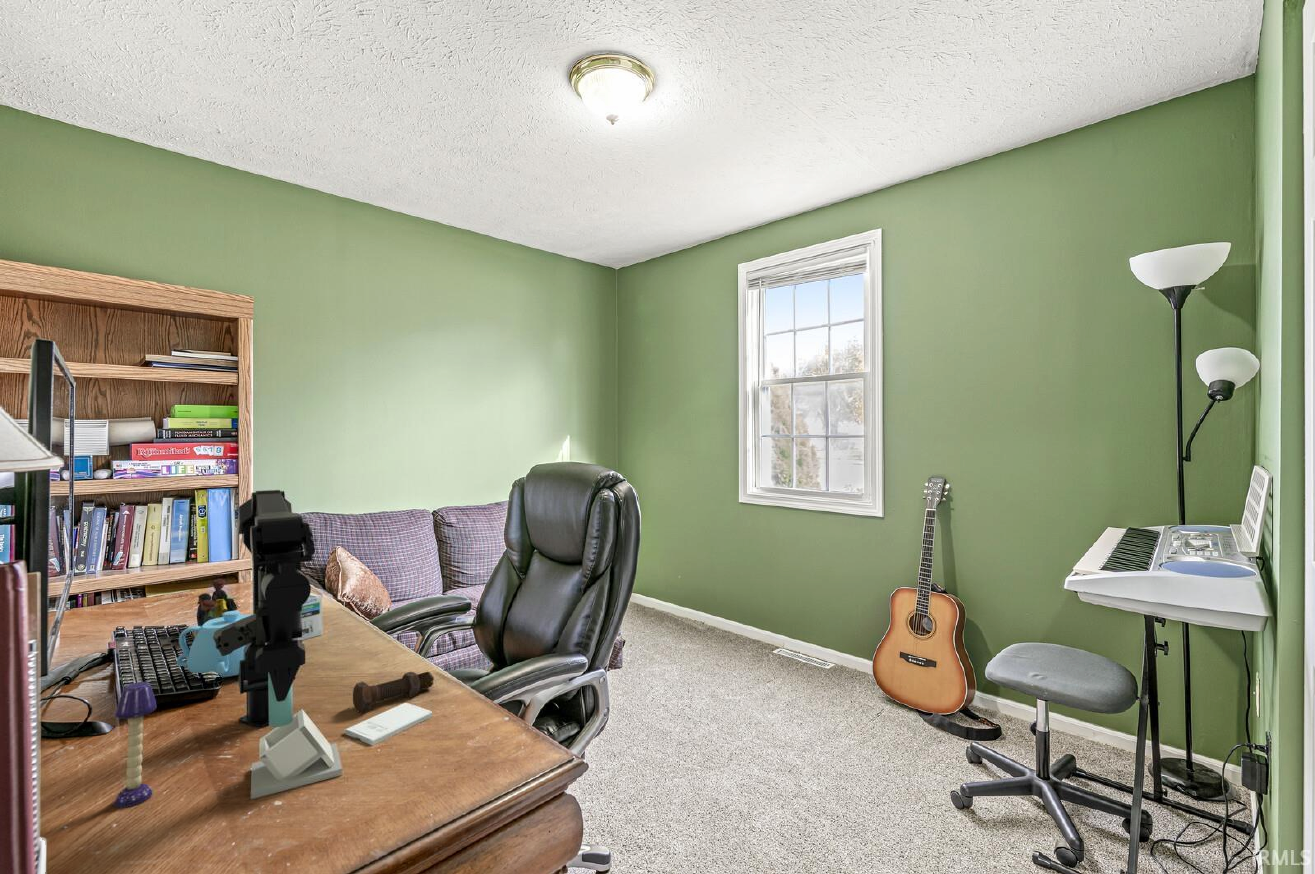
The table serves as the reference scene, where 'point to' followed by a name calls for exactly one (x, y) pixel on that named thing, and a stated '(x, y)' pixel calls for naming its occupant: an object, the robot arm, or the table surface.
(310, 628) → the light bulb box
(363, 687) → the bolt
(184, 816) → the table surface
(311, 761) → the socket
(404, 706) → the external hard drive
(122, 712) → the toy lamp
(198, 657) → the light blue teapot
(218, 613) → the doll family
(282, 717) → the dowel
